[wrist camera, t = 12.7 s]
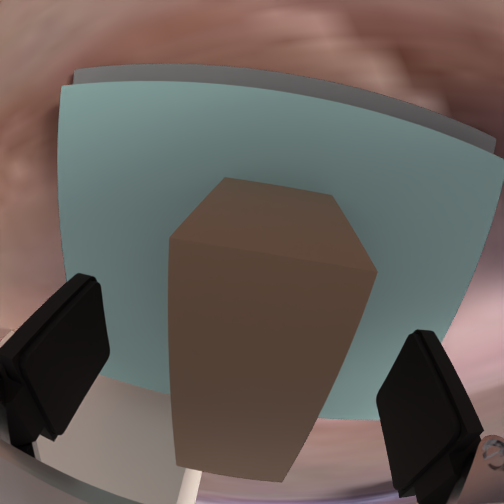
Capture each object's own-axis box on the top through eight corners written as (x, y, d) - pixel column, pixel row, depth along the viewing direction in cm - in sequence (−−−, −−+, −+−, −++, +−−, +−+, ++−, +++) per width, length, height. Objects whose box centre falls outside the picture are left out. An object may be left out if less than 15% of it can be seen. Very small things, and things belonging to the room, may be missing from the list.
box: (11, 330, 19) (-103, 474, 3) (205, 392, 18) (141, 643, 3) (53, 425, 24) (-9, 542, 9) (201, 474, 23) (167, 624, 8)
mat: (81, 70, 11) (74, 69, 11) (489, 137, 11) (496, 138, 10) (94, 347, 18) (89, 353, 17) (389, 396, 17) (391, 403, 17)
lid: (91, 87, 11) (-51, 90, 4) (479, 152, 11) (609, 202, 4) (102, 345, 17) (40, 442, 10) (385, 392, 16) (411, 502, 9)
